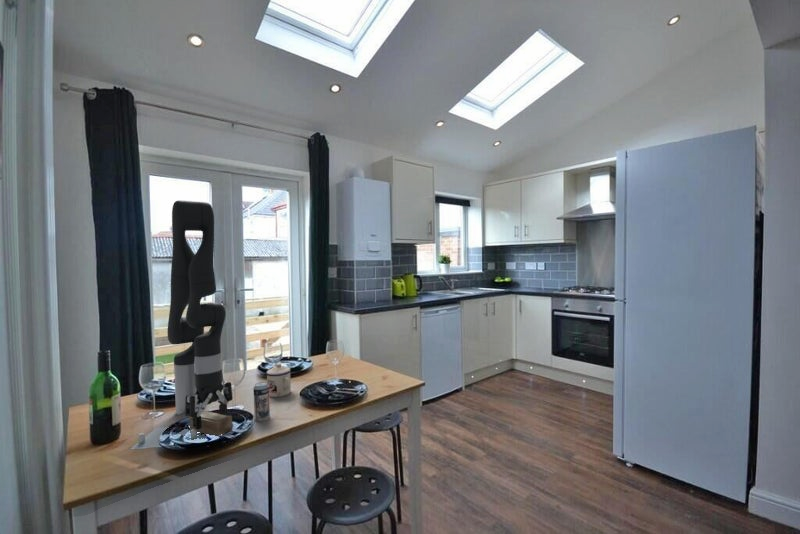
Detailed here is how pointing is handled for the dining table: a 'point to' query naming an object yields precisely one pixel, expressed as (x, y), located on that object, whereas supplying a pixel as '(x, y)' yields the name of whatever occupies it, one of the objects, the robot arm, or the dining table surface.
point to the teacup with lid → (279, 381)
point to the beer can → (261, 401)
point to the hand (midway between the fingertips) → (210, 422)
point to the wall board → (153, 437)
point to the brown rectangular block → (213, 423)
